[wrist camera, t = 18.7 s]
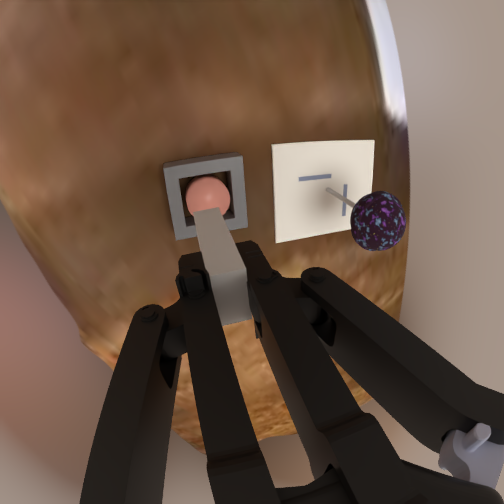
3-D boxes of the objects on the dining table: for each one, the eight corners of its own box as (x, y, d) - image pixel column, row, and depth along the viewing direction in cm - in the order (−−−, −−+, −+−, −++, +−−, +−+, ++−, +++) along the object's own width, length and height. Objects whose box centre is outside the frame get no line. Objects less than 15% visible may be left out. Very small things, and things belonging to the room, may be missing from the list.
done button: (182, 177, 34) (183, 183, 32) (223, 170, 35) (228, 176, 33) (188, 215, 37) (190, 224, 34) (227, 208, 38) (232, 217, 35)
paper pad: (271, 144, 36) (272, 144, 35) (372, 139, 39) (374, 140, 39) (275, 241, 43) (276, 243, 42) (366, 224, 46) (368, 225, 46)
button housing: (163, 163, 33) (163, 168, 31) (236, 151, 35) (242, 156, 33) (175, 230, 38) (176, 240, 35) (242, 218, 40) (247, 227, 37)
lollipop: (354, 194, 42) (423, 238, 30) (318, 220, 43) (379, 274, 30) (336, 157, 38) (411, 189, 26) (298, 183, 39) (362, 228, 26)
